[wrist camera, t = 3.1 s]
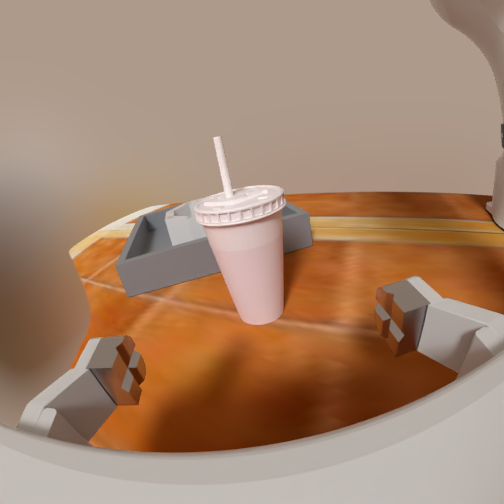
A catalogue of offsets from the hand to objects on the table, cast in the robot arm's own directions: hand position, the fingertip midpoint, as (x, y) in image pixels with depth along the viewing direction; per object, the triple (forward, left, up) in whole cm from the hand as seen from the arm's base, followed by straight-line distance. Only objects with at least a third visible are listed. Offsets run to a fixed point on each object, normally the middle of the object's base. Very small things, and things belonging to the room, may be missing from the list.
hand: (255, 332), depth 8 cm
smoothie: (-2, -12, -8) cm, 15 cm away
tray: (0, -32, -8) cm, 33 cm away
